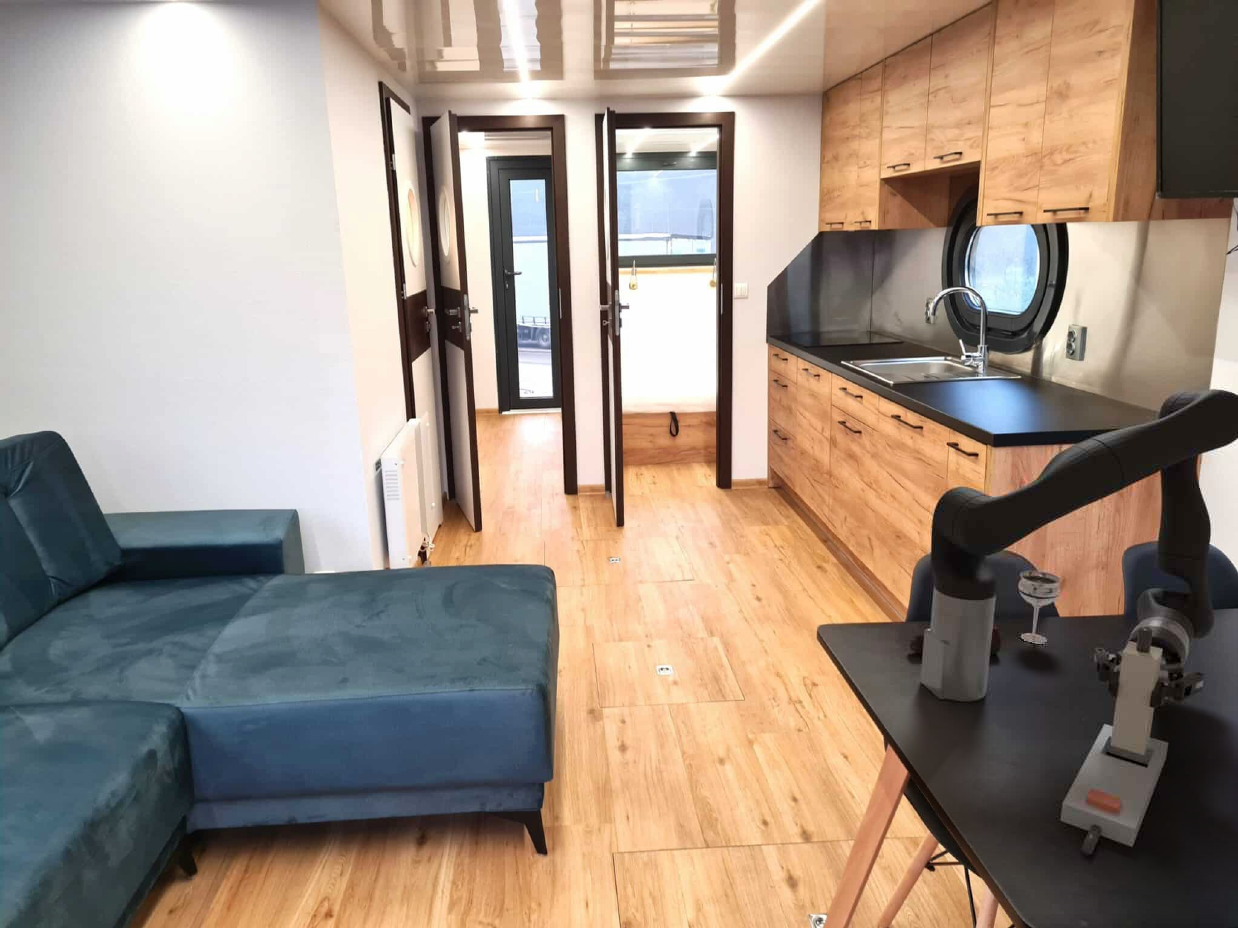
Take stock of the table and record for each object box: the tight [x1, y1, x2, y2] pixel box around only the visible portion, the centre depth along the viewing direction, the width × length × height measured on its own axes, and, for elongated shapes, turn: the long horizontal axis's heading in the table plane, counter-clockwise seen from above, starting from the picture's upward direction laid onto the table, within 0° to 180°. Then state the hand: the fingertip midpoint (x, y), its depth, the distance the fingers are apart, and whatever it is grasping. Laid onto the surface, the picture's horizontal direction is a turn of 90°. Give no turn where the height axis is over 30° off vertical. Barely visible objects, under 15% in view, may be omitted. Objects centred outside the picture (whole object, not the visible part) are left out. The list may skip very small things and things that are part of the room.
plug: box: [1110, 627, 1163, 755], centre depth 120 cm, size 4×4×17 cm
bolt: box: [909, 623, 1002, 656], centre depth 156 cm, size 6×5×15 cm
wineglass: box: [1017, 570, 1062, 645], centre depth 161 cm, size 7×7×12 cm
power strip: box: [1059, 723, 1169, 856], centre depth 116 cm, size 29×8×3 cm, turn 141°
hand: (1133, 695), depth 118 cm, fingers closed on plug, 4 cm apart
